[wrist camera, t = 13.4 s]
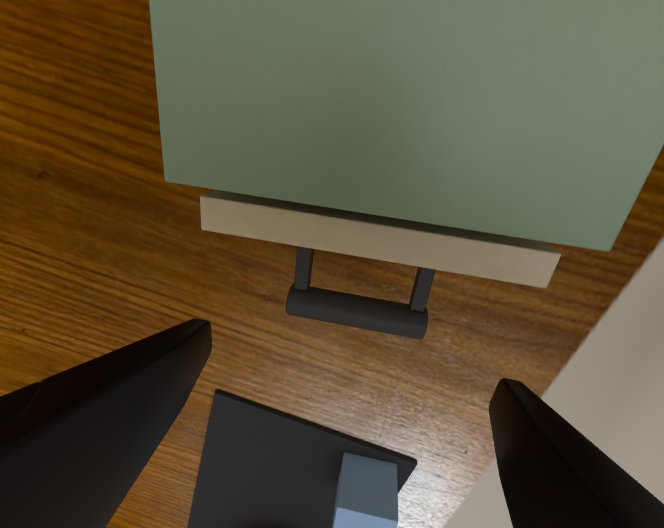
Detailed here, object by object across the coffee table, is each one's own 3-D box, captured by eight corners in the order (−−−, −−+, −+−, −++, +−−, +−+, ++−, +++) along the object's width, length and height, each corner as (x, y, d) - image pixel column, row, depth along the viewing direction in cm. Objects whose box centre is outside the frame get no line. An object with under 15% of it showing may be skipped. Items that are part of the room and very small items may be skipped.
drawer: (462, 300, 18) (501, 392, 12) (263, 265, 19) (205, 333, 13) (614, -163, 11) (910, -532, 5) (280, -180, 12) (166, -502, 6)
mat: (417, 459, 25) (417, 464, 24) (326, 598, 35) (326, 603, 35) (216, 388, 25) (214, 392, 25) (184, 547, 35) (182, 551, 35)
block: (396, 463, 25) (398, 522, 21) (386, 496, 26) (386, 556, 23) (344, 451, 25) (337, 507, 21) (337, 484, 27) (329, 541, 23)
